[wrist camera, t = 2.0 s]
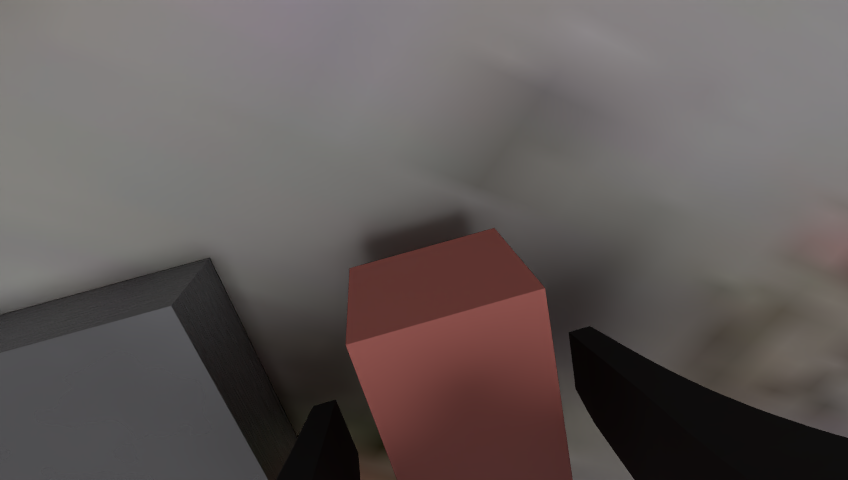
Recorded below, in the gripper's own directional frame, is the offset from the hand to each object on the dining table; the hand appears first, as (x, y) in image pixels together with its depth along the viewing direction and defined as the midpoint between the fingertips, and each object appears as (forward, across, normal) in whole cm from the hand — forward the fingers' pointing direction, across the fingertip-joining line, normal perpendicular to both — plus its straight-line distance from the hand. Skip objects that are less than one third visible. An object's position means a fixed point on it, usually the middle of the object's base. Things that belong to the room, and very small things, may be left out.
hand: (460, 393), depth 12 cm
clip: (+2, 0, 0) cm, 2 cm away
